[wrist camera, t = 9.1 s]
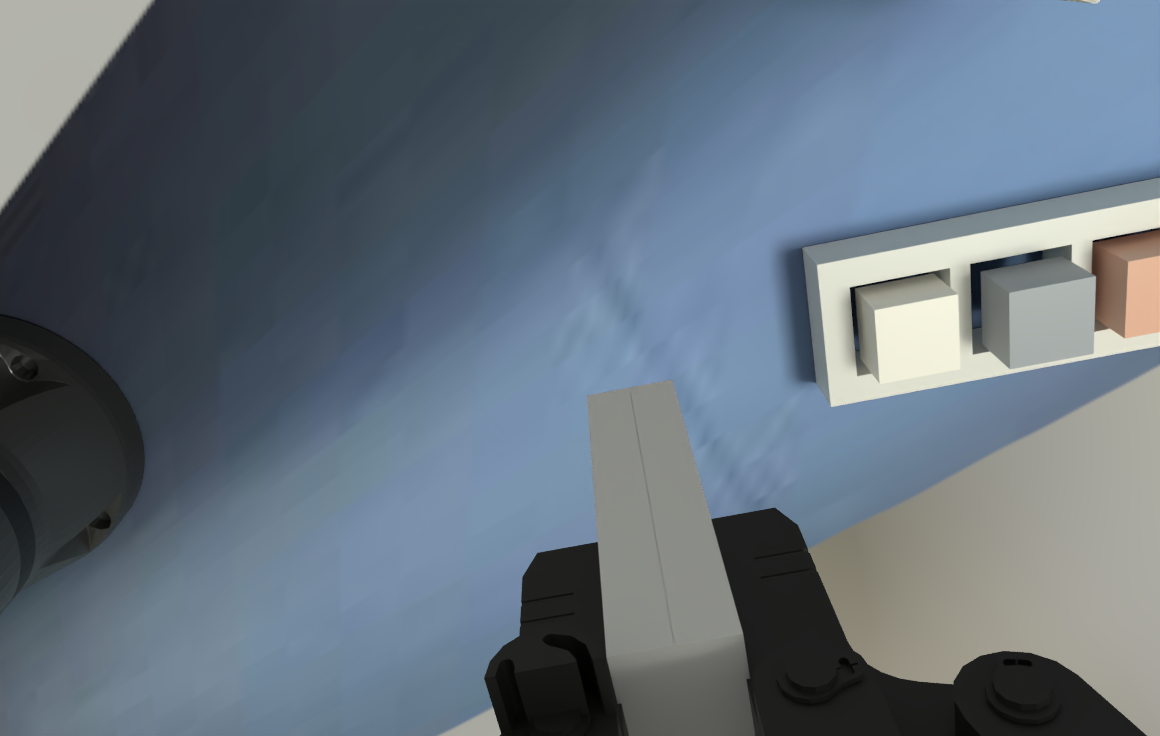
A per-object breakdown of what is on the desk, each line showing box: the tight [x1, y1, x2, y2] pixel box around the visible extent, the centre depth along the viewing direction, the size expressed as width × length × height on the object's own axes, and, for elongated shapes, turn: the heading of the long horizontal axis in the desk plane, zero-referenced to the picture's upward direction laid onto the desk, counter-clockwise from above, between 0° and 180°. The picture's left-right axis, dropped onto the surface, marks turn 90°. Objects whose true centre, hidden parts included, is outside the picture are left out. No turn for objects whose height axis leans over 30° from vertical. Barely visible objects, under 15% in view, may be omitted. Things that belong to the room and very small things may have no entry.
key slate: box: [981, 256, 1096, 369], centre depth 45 cm, size 4×4×3 cm
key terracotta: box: [1092, 230, 1160, 338], centre depth 46 cm, size 4×4×3 cm
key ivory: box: [855, 273, 961, 384], centre depth 47 cm, size 4×4×3 cm
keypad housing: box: [802, 177, 1160, 407], centre depth 48 cm, size 20×8×3 cm, turn 101°
